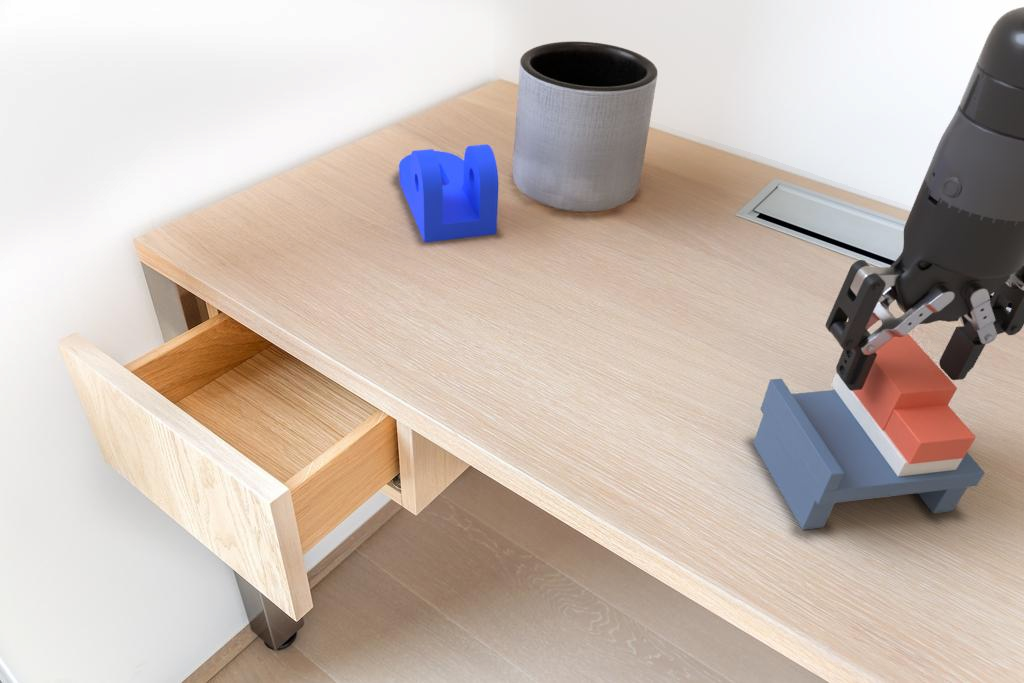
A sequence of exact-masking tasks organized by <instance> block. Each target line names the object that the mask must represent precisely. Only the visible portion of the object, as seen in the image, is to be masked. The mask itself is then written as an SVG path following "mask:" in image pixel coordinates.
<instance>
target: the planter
mask: <svg viewBox="0 0 1024 683" xmlns="http://www.w3.org/2000/svg"><path fill="white" fill-rule="evenodd" d="M518 71H519V72H518V87H517V99H516V116H515V127H514V140H513V151H512V152H513V153H512V165H511V166H512V167H511V168H512V169H511V170H512V181H513V182H514V184H515V186H516V187H517V189H519V191H521V192H522V193H523V194H524V195H525V196H526V197H527V198H528V199H530V200H532V201H533V202H536V203H537V204H539V205H541V206H544V207H546V208H549V209H553V210H557V211H559V212H560V211H561V212H568V213H574V214H575V213H576V214H577V213H578V214H590V213H591V214H592V213H593V214H594V213H599V212H605V211H610V210H613V209H615V208H618V207H620V206H622V205H624V204H626V203H628V202H629V201H631V200H632V199H633V198H634V197H636V195H637V194H638V191H639V189H640V185H641V181H642V177H643V176H642V175H643V170H644V164H645V155H646V150H647V144H648V138H649V137H648V136H649V130H650V124H651V117H652V112H653V105H654V99H655V92H656V86H657V80H658V74H659V72H658V68H657V67H656V65H655V63H653V61H651V60H650V59H649V58H647V57H645V56H644V55H642V54H639V53H638V52H636V51H633V50H630V49H628V48H625V47H620V46H617V45H612V44H607V43H602V42H593V41H580V40H579V41H557V42H549V43H545V44H541V45H537V46H534V47H533V48H531V49H528V50H527V51H526V52H524V53H523V54H522V55H521V57H520V59H519V69H518Z"/></svg>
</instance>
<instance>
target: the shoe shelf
mask: <svg viewBox="0 0 1024 683" xmlns="http://www.w3.org/2000/svg"><path fill="white" fill-rule="evenodd" d="M760 412H761V413H762V417H761V421H760V423H759V426H758V429H757V430H756V434H755V438H754V440H753V446H754V448H755V450H756V451H757V453H758V455H759V456H760V459H761V460H762V462H763V464H764V465H765V467H766V469H767V471H768V472H769V474H770V475H771V478H772V479H773V481H774V483H775V485H776V487H777V488H778V490H779V491H780V493H781V495H782V497H783V498H784V500H785V503H786V504H787V506H788V508H789V509H790V511H791V513H792V515H793V516H794V518H795V520H796V522H797V523H798V525H799V527H800V528H801V530H802V531H804V530H806V531H807V530H812V529H822V528H824V527H825V525H826V523H827V521H828V519H829V517H830V515H831V513H832V510H833V508H834V507H835V504H837V503H845V502H854V501H862V500H870V499H878V498H880V499H881V498H888V497H896V496H904V495H913V494H917V495H918V496H919V497H920V499H921V500H922V501H923V503H924V504H925V505H926V507H927V508H928V510H929V511H930V512H931V513H932V514H941V513H949V512H953V511H954V510H955V508H956V506H957V505H958V504H959V502H960V501H961V499H962V497H963V496H964V494H965V493H966V491H967V489H968V488H972V487H977V486H978V485H979V483H980V482H981V480H982V478H983V477H984V476H985V474H986V473H985V471H984V470H983V469H982V467H980V465H979V464H978V463H977V461H976V460H975V459H974V458H973V456H971V455H970V453H969V452H968V451H967V453H966V455H965V456H964V458H963V459H962V461H961V462H960V464H959V466H958V467H957V469H956V470H951V471H943V472H934V473H925V474H916V475H908V476H899V477H898V476H897V475H896V473H895V472H894V471H893V469H892V468H891V466H890V465H889V464H888V462H887V461H886V460H885V458H884V457H883V455H882V454H881V453H880V451H879V450H878V449H877V447H876V446H875V445H874V443H873V442H872V440H871V439H870V438H869V436H868V435H867V434H866V432H865V431H864V429H863V428H862V427H861V425H860V424H859V423H858V421H857V420H856V418H855V417H854V416H853V414H852V413H851V412H850V410H849V409H848V407H847V406H846V405H845V403H844V402H843V401H842V399H841V398H840V396H839V395H838V394H837V392H836V391H835V390H834V389H831V390H829V389H828V390H819V391H809V392H798V393H792V392H791V391H790V389H789V388H788V386H787V385H786V383H785V381H784V380H783V378H772V379H769V382H768V385H767V388H766V391H765V394H764V397H763V400H762V403H761V405H760Z"/></svg>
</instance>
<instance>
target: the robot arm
mask: <svg viewBox="0 0 1024 683" xmlns="http://www.w3.org/2000/svg"><path fill="white" fill-rule="evenodd" d="M902 246H903V247H902V252H901V253H900V255H899V256H898V257H897V258H896V260H895V261H893V263H891V265H890V266H883V267H872V266H871V265H870V264H869V263H868V262H867V261H866V260H865V259H864V260H863V259H859V260H857V261H854V262H853V263H852V264H851V266H850V268H849V270H848V272H847V273H846V277H845V279H844V281H843V283H842V286H841V288H840V291H839V293H838V295H837V297H836V298H835V299H836V300H835V301H834V304H833V306H832V308H831V311H830V312H829V315H828V318H827V319H826V322H825V328H826V329H827V331H828V332H829V333H831V335H832V336H833V338H834V339H835V340H836V341H837V342H838V344H839V346H840V347H841V349H842V352H841V354H840V355H839V356H840V357H839V359H838V362H837V364H836V367H835V373H836V372H837V373H838V375H839V376H840V378H841V379H842V381H843V382H844V383H845V385H846V386H847V387H848V389H849V390H851V391H854V390H861V389H862V388H863V386H864V384H865V381H866V379H867V377H868V374H869V372H870V370H871V368H872V365H873V363H874V361H875V358H876V356H877V354H876V353H875V352H876V351H877V350H878V349H879V348H881V347H882V346H883V345H884V344H885V343H887V342H888V341H889V340H890V339H892V338H893V337H903V336H905V335H906V334H909V333H910V332H911V331H913V330H914V329H915V328H916V327H917V326H919V325H927V324H931V323H935V322H939V321H942V322H946V323H947V322H948V323H950V322H951V323H952V322H958V321H960V323H961V324H962V326H956V327H955V329H954V331H953V333H952V334H951V337H950V339H949V341H948V342H947V344H946V347H945V349H944V351H943V352H942V355H941V357H940V358H939V363H938V364H939V368H940V369H941V371H942V372H943V373H944V374H945V375H946V376H947V377H948V378H949V379H950V380H951V381H960V380H964V379H965V378H966V377H967V375H968V373H969V372H971V370H972V369H973V368H974V367H975V365H976V363H977V361H978V359H979V357H980V356H981V354H982V351H984V349H985V346H986V345H988V344H991V343H993V342H994V341H995V340H996V338H997V337H998V335H1001V334H1003V333H1005V334H1006V335H1007V336H1014V335H1016V334H1018V333H1019V332H1020V331H1021V330H1022V329H1023V327H1024V6H1022V7H1018V8H1017V7H1016V8H1014V9H1011V10H1009V11H1007V12H1006V13H1004V14H1002V15H1001V16H1000V17H999V18H998V19H997V20H996V21H995V23H994V25H992V28H991V30H990V31H989V33H988V35H987V37H986V39H985V41H984V44H983V46H982V49H981V50H980V54H979V56H978V59H977V62H976V63H975V65H974V68H973V70H972V73H971V75H970V78H969V80H968V82H967V85H966V88H965V90H964V91H963V95H962V96H961V99H960V102H959V105H958V106H957V108H956V111H955V113H954V115H953V117H952V118H951V119H950V122H949V123H948V125H947V127H946V129H945V130H944V132H943V134H942V135H941V137H940V140H939V142H938V144H937V146H936V148H935V152H934V153H933V156H932V159H931V161H930V164H929V166H928V168H927V170H926V173H925V175H924V177H923V181H922V183H921V186H920V188H919V190H918V193H917V195H916V197H915V200H914V202H913V205H912V207H911V209H910V212H909V215H908V217H907V220H906V222H905V224H904V227H903V245H902ZM991 295H992V297H990V296H991ZM894 301H895V302H896V304H897V307H898V309H900V310H901V311H902V312H903V314H902V315H901V316H899V317H896V316H894V315H893V313H891V311H890V309H889V307H890V305H891V304H893V302H894ZM1009 304H1010V305H1011V309H1010V311H1009V310H1008V309H1007V307H1008V306H1009ZM878 321H881V325H880V326H879V327H878V328H877V329H875V330H874V331H873V332H872V333H871V332H869V329H870V328H871V327H872V326H873V325H875V324H876V323H877V322H878Z"/></svg>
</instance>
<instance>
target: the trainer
mask: <svg viewBox="0 0 1024 683" xmlns="http://www.w3.org/2000/svg"><path fill="white" fill-rule="evenodd" d="M875 353H876V354H877V356H876V358H875V361H874V363H873V365H872V368H871V370H870V372H869V374H868V377H867V379H866V381H865V384H864V386H863V388H862V389H861V390H854V391H851V390H849V389H848V387H847V386H846V385H845V383H844V382H843V381H842V379H841V378H840V376H839V375H838V373H837V372H836V371H835V374H834V377H833V380H832V382H831V384H830V385H831V387H832V388H833V390H835V391H836V392H837V394H838V395H839V396H840V398H841V399H842V401H843V402H844V403H845V405H846V406H847V407H848V409H849V410H850V412H851V413H852V414H853V416H854V417H855V418H856V420H857V421H858V423H859V424H860V425H861V427H862V428H863V429H864V431H865V432H866V434H867V435H868V436H869V438H870V439H871V440H872V442H873V443H874V445H875V446H876V447H877V449H878V450H879V451H880V453H881V454H882V455H883V457H884V458H885V460H886V461H887V462H888V464H889V465H890V466H891V468H892V469H893V471H894V472H895V473H896V475H897V476H898V477H899V476H908V475H916V474H925V473H934V472H943V471H951V470H956V469H957V467H958V466H959V464H960V462H961V461H962V459H963V458H964V456H965V455H966V453H967V452H968V451H969V450H970V448H971V447H972V444H973V443H974V442H975V440H976V438H977V437H976V436H975V434H974V433H973V432H972V431H971V430H970V428H968V426H967V425H966V424H965V423H964V422H963V421H962V419H960V417H959V416H958V415H957V414H956V413H955V412H954V410H953V409H952V408H951V407H950V406H949V404H950V402H951V400H952V399H953V397H954V395H955V394H956V391H957V389H958V387H957V386H956V384H954V382H953V381H952V380H951V378H950V377H949V376H948V375H947V374H946V373H945V372H944V371H943V370H942V368H941V367H940V366H938V365H937V363H936V362H934V360H933V359H932V358H931V357H930V356H929V355H928V354H927V353H926V351H925V350H923V348H921V346H920V345H919V344H918V342H916V341H915V339H914V338H913V337H912V336H911V335H910V334H909V333H907V334H906V335H905V336H903V337H893V338H892V339H890V340H889V341H888V342H887V343H885V344H884V345H883V346H882V347H881V348H879V349H878V350H877V351H876V352H875Z"/></svg>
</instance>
